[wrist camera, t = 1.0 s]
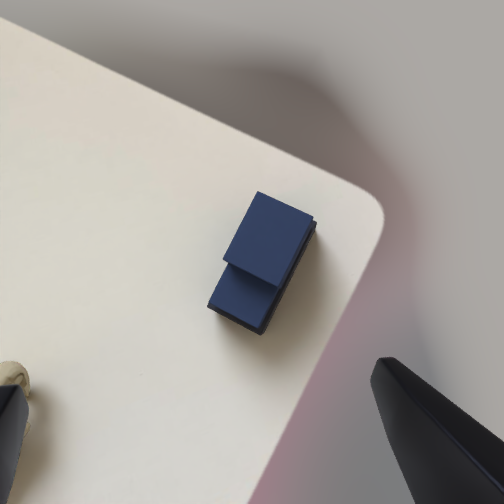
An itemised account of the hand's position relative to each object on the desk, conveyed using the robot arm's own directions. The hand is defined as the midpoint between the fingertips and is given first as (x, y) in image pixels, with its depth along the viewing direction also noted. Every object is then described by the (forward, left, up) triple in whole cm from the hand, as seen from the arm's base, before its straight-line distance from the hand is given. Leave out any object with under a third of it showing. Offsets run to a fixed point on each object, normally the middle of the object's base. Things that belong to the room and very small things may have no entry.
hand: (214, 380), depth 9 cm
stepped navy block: (+5, -2, -19) cm, 20 cm away
